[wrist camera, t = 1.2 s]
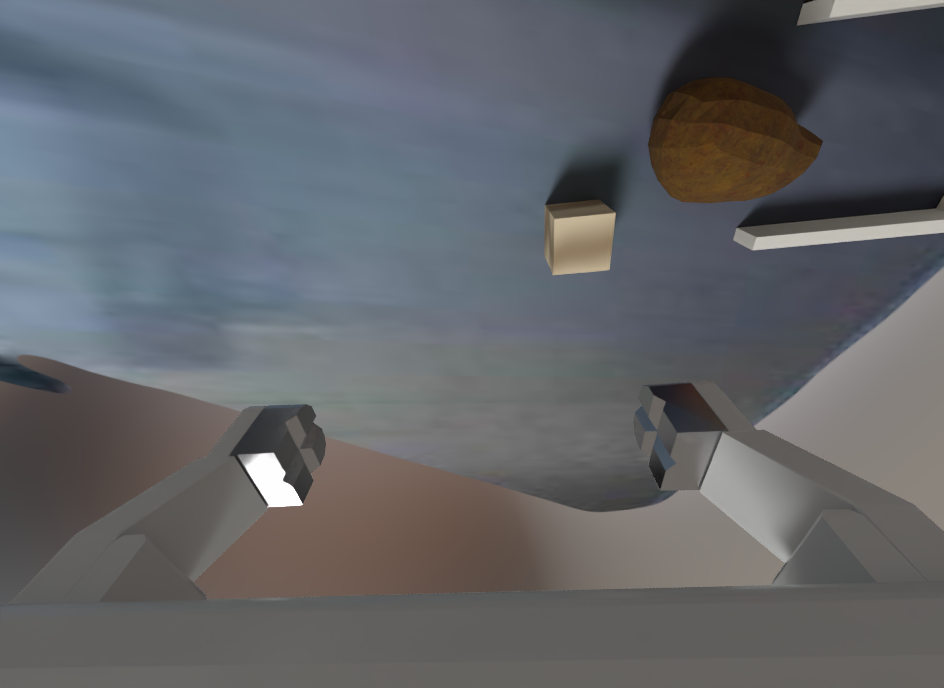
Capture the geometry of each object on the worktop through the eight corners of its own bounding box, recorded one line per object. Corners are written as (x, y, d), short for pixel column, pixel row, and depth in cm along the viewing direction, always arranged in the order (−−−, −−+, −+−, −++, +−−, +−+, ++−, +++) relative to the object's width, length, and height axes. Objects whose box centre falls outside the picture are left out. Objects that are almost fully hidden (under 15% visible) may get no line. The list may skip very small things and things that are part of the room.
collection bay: (803, 3, 26) (837, -7, 24) (1094, -35, 25) (1163, -51, 23) (733, 239, 36) (752, 250, 34) (942, 220, 35) (978, 229, 32)
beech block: (544, 204, 34) (554, 219, 30) (598, 199, 34) (615, 212, 30) (544, 255, 37) (553, 275, 33) (594, 250, 37) (609, 270, 33)
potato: (707, 223, 35) (768, 255, 28) (610, 160, 32) (649, 177, 25) (785, 134, 31) (880, 144, 24) (681, 51, 28) (753, 34, 21)
